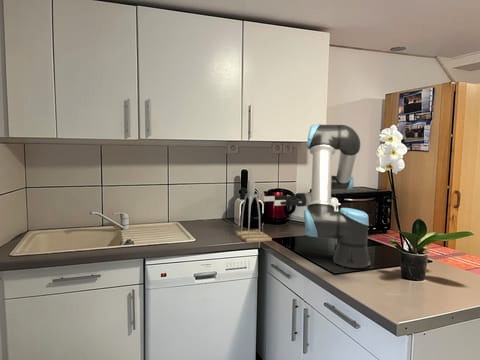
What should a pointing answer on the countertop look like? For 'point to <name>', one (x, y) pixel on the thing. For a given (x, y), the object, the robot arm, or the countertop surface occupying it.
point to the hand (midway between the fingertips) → (268, 200)
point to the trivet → (253, 236)
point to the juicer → (250, 202)
